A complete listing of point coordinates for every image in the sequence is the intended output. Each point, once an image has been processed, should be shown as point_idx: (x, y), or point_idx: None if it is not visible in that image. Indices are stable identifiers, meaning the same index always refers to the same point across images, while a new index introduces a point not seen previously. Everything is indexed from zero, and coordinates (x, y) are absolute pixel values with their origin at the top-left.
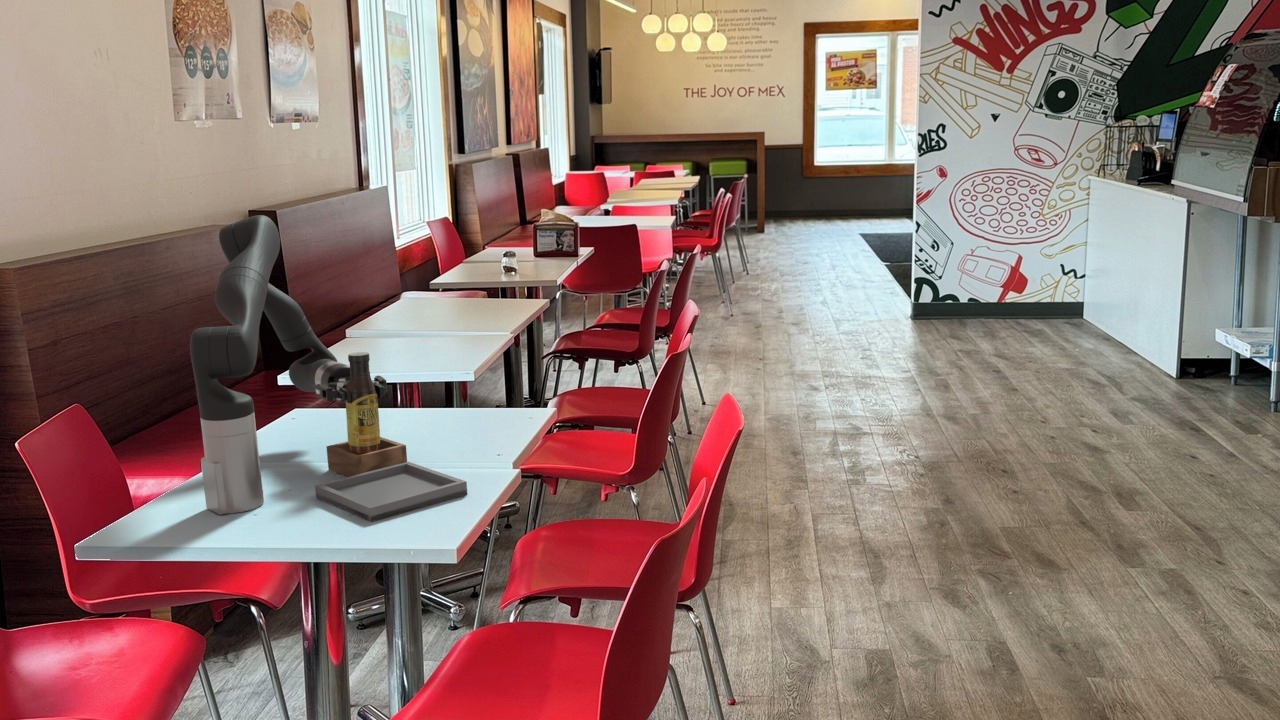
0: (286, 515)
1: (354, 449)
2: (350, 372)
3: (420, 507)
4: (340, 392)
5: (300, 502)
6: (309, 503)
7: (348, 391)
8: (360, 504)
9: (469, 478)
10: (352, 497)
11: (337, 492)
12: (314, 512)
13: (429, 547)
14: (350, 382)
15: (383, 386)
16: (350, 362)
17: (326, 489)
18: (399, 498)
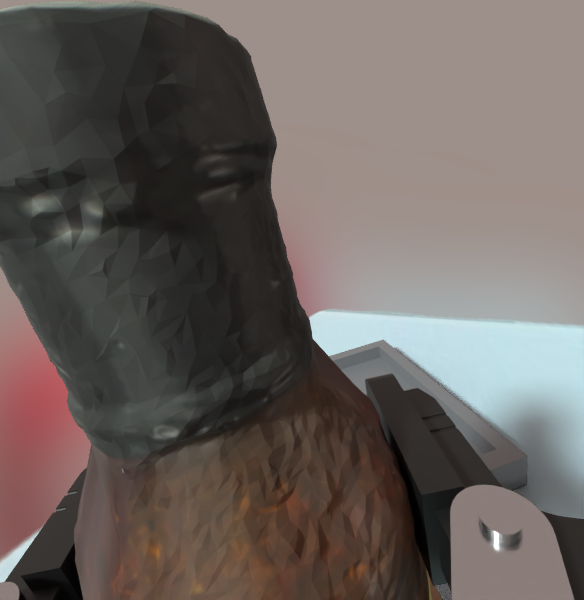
0: (557, 405)
1: None
2: (297, 311)
3: None
4: (450, 423)
5: (565, 469)
6: (531, 454)
7: (376, 377)
8: (396, 351)
9: None
10: (411, 372)
11: (445, 398)
12: (494, 404)
13: (336, 313)
14: (337, 368)
15: (68, 492)
16: (269, 170)
17: (478, 418)
18: (337, 357)
